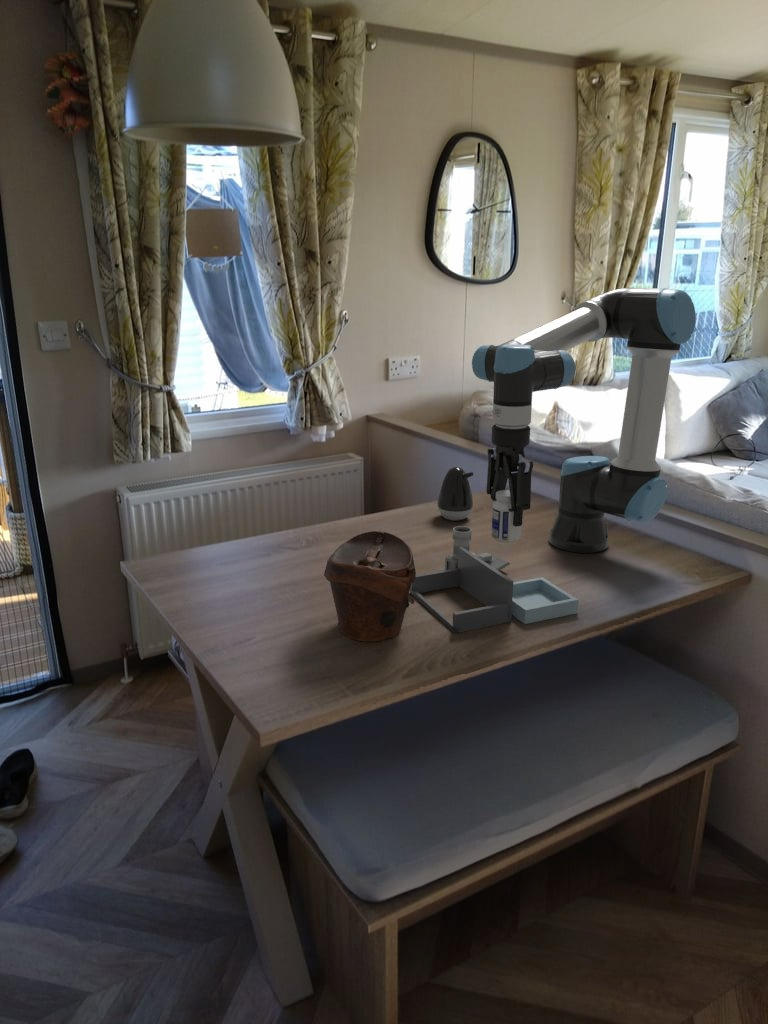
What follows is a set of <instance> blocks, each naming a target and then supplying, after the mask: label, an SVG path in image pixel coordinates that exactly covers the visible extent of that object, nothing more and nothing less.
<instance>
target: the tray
mask: <svg viewBox="0 0 768 1024" xmlns="http://www.w3.org/2000/svg"><path fill="white" fill-rule="evenodd" d="M578 607H579V599H578V598H576V597H575V596H573V595H571V594H570V593H568V592H566V591H565V590H563V589H562V588H561V587H559V586H558V585H555V584H554V583H553V582H550V581H549V580H547V579H546V578H544V577H543V576H541V577H536V578H530V579H525V580H518V581H514V582H513V598H512V614H511V616H513V617H514V618H516V619H517V620H519V621H520V622H521V623H523V624H524V625H526V624H527V625H528V624H532V623H536V622H540V621H546V620H551V619H556V618H561V617H565V616H571V615H575V614H578Z"/></svg>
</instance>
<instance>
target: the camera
mask: <svg viewBox="0 0 768 1024" xmlns="http://www.w3.org/2000/svg"><path fill="white" fill-rule="evenodd" d="M472 533H473V532H472V528H471V527H469V526H464V525H463V526H462V525H461V526H460V525H458V526H455V527H453V528H452V540H453V547H452V548H453V549H452V554H451V555H448V556H445V559H444V560H445V563H444V564H445V565H444V570H450V569H456V568H458V553H459V547H463V548H465V549H466V550H468V551H469V552H471V553H472V554H474V555H475V556H477V557H478V558H480V559H481V560H483V561H484V562H486V563H487V564H489V565H490V566H492V567H493V568H495V569H496V570H498V571H499V572H500V571H501V570H502V569H505V568H506V567H508V566H510V565H511V563H510V561H507V560H506V559H503V558H500V557H498V556H496V555H494V554H492V553H489V552H487V551H484V552H482V553H479V554H477V553H475V552H473V551H471V550H470V545H471V544H470V541H471V540H472Z"/></svg>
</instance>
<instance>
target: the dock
mask: <svg viewBox="0 0 768 1024" xmlns="http://www.w3.org/2000/svg"><path fill="white" fill-rule="evenodd" d="M469 551H470V550H469ZM469 551H468V550H466V549H465V548H463V547H459V553H458V568H456V569H450V570H445V569H444V570H438V571H433V572H427V573H422V574H420V573H419V574H416V578H415V581H414V582H413V583H412V582H411V587H410V591H409V594H410V595H412V596H413V598H414V599H416V600H417V601H418V602H419V603H421V604H422V605H423V606H424V607H425V608H426V609H427V610H428V611H429V612H431V613H432V614H433V615H434V616H435V618H437V619H438V620H440V621H441V622H442V624H444V625H445V626H446V627H448V629H450V630H451V631H452V632H453V633H455V634H456V633H462V632H466V631H472V630H473V631H474V630H477V629H481V628H486V627H492V626H497V625H501V624H506V623H510V622H512V598H513V582H515V581H514V580H513V579H511V578H510V577H508V576H506V575H505V574H504V573H503V572H501V571H500V570H499V571H498V570H496V569H495V568H493V567H492V566H490V565H489V564H487V563H486V562H484V561H483V560H481V559H480V558H478V557H477V556H475V555H474V554H472V553H471V552H472V551H471V552H469ZM455 587H460V588H461V589H462V590H464V591H465V592H467V593H468V594H469V595H470V596H472V597H473V598H474V599H476V600H477V601H478V602H480V604H482V605H484V606H482V607H476V608H471V609H466V610H459V611H455V612H453V613H452V620H451V619H449V618H448V617H447V616H446V615H445V614H443V613H442V612H441V610H439V609H438V608H436V606H434V605H433V604H432V603H431V602H430V601H428V600H427V598H426V597H424V596H423V595H422V594H423V593H427V592H434V591H438V590H444V589H450V588H455Z"/></svg>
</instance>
